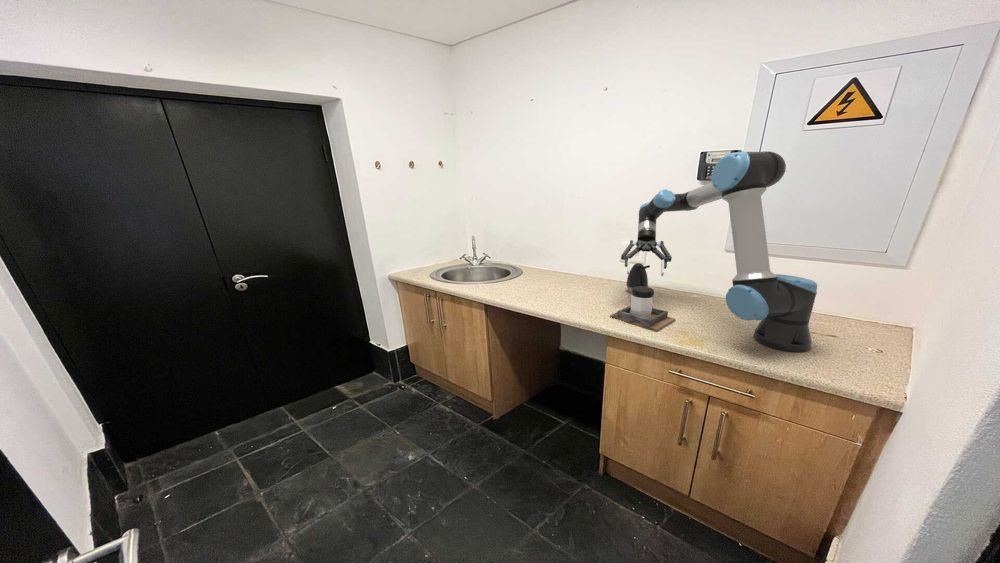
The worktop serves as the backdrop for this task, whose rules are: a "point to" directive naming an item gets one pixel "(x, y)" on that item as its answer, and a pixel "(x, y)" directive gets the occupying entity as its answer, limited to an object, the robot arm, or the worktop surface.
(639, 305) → the jar
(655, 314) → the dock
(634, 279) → the pump dispenser
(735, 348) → the worktop surface
